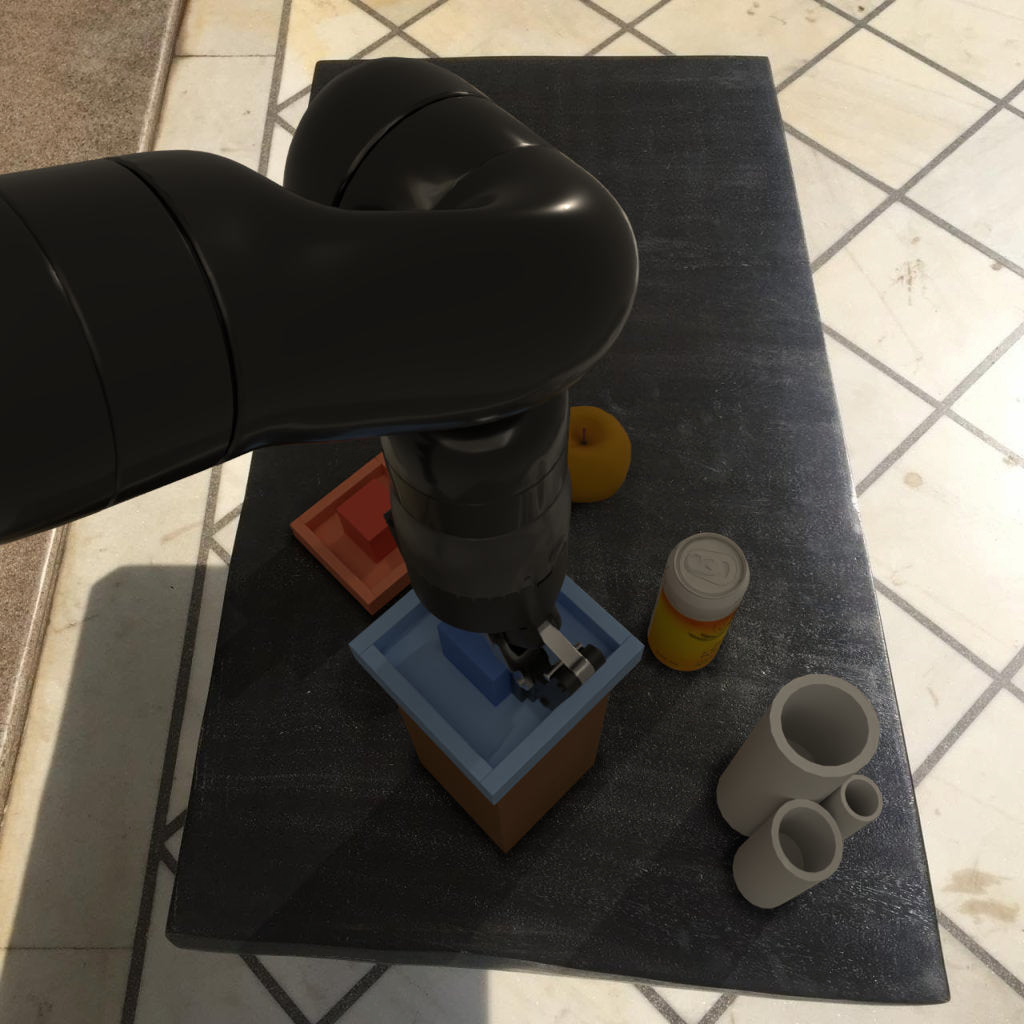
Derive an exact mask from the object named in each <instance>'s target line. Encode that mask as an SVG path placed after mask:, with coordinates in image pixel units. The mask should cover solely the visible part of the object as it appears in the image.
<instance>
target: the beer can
mask: <svg viewBox="0 0 1024 1024" xmlns="http://www.w3.org/2000/svg"><path fill="white" fill-rule="evenodd" d="M750 571H751V570H750V566H749V563H748V561H747V559H746V556H745V554H744V552H743V551H742V549H741V548H740V546H739V545H738V544H737V543H736V542H734V541H733V540H732V539H730V538H729V537H727V536H726V535H723V534H719V533H716V532H700V533H696V534H693V535H690V536H689V537H686V538H685V539H682V540H681V541H679V542H678V543H677V544H676V545H675V546H674V547H673V548H672V550H671V551H670V553H669V554H668V558H667V560H666V564H665V567H664V571H663V574H662V578H661V582H660V585H659V589H658V592H657V596H656V599H655V603H654V607H653V610H652V614H651V617H650V621H649V624H648V628H647V639H648V640H647V641H648V645H649V648H650V650H651V652H652V654H653V655H654V657H655V658H656V659H657V660H658V661H659V662H660V663H662V664H664V665H665V666H666V667H668V668H671V669H672V670H676V671H680V672H692V671H696V670H699V669H702V668H704V667H706V666H707V665H709V664H710V663H711V662H712V661H713V660H714V658H715V657H716V655H717V653H718V651H719V650H720V648H721V645H722V643H723V641H724V638H725V636H726V634H727V633H728V630H729V628H730V626H731V623H732V621H733V620H734V617H735V616H736V613H737V611H738V609H739V607H740V605H741V603H742V600H743V598H744V596H745V594H746V592H747V590H748V587H749V585H750V580H751V574H750V573H751V572H750Z"/></svg>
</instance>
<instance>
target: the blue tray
mask: <svg viewBox="0 0 1024 1024" xmlns="http://www.w3.org/2000/svg"><path fill="white" fill-rule="evenodd" d="M555 605H556V607H557V610H558V612H559V614H560V616H561V620H562V625H561V628H560V630H559V632H560V633H561V634H562V635H563V636H564V637H565V638H566V639H567V640H568V641H569V642H570V643H571V644H572V645H574V644H575V643H576V642H580V643H581V644H582V645H583V646H584V647H586V646H587V645H588V644H592V645H593V646H595V647H597V648H598V649H599V650H600V651H601V652H602V654H603V656H604V657H605V659H606V663H605V664H604V665H602V666H601V667H600V668H599V669H598V670H597V671H596V672H595V673H594V674H593V675H592V676H591V677H590V678H589V679H588V680H587V681H586V682H585V683H584V684H583V685H582V686H581V687H580V688H579V689H578V690H577V691H576V692H575V693H574V694H573V695H572V696H571V697H569V698H568V699H567V700H566V701H564V702H563V703H562V704H560V705H559V706H558V707H557V708H555V709H554V710H553V711H551V710H549V709H548V708H547V707H546V708H545V707H544V706H543V705H542V704H541V703H540V702H539V699H537V700H536V701H535V702H531V701H530V700H529V699H528V698H527V699H526V700H525V701H524V702H520V701H519V700H518V699H517V698H516V697H515V696H514V695H513V694H512V693H511V694H510V695H508V696H507V697H506V698H505V699H504V700H503V701H502V702H501V703H500V704H499V705H498V706H497V707H495V706H494V705H493V704H492V703H491V702H490V701H489V700H488V699H487V698H486V697H485V696H484V695H483V694H482V693H481V692H480V691H479V690H478V689H477V688H476V687H475V686H474V685H473V684H472V683H471V682H470V681H469V680H468V679H467V678H466V677H465V676H464V675H463V674H462V673H461V672H460V671H459V670H458V669H457V668H456V667H455V666H454V665H453V664H452V663H451V662H450V661H449V660H448V659H447V658H446V657H445V656H444V655H443V651H442V647H441V642H440V638H439V634H438V630H437V625H438V624H439V623H440V622H442V621H441V620H439V619H438V618H437V617H435V616H434V615H433V614H432V613H430V612H429V611H428V610H427V609H426V608H425V606H424V605H423V604H422V603H421V601H420V600H419V599H418V597H417V595H416V594H415V592H414V590H413V588H412V589H411V590H409V591H408V592H407V593H405V595H403V597H401V598H400V599H399V600H397V601H396V602H395V603H394V604H393V605H392V606H391V607H390V608H388V609H387V610H386V611H385V612H384V613H383V614H381V615H380V616H379V617H378V618H377V619H376V620H374V621H373V622H372V623H371V624H369V626H367V627H366V628H365V629H364V630H363V631H361V632H360V633H359V634H358V635H357V636H356V637H354V638H353V639H352V640H351V641H350V642H349V643H348V647H349V649H350V651H351V653H352V655H353V658H354V659H355V660H356V661H357V663H358V664H360V665H361V667H362V668H363V669H364V670H365V671H366V672H367V673H368V674H369V675H370V676H371V677H372V678H373V679H374V680H375V681H376V683H377V684H378V685H379V686H380V687H381V688H382V689H383V690H384V691H385V692H386V693H387V694H388V695H389V696H390V697H391V698H392V699H393V701H394V702H395V703H396V705H397V707H398V710H399V712H400V715H401V717H402V719H403V722H404V725H405V727H406V730H407V733H408V735H409V736H410V739H411V742H412V744H413V747H414V749H415V752H416V755H417V757H418V759H419V762H420V764H421V765H423V767H424V768H425V769H426V770H427V771H428V772H429V773H430V774H431V775H432V776H433V778H434V779H435V780H436V781H437V782H438V783H439V784H440V785H441V787H443V788H444V789H445V790H446V791H447V793H448V794H449V795H450V796H451V797H452V798H453V799H454V800H455V801H456V802H457V803H458V804H459V805H460V807H461V808H462V809H463V810H464V811H465V812H466V813H467V814H468V815H469V816H470V817H471V818H472V820H474V822H475V823H476V824H477V825H478V826H479V827H480V828H481V829H482V831H484V832H485V834H486V835H488V837H489V838H490V839H491V840H492V841H493V842H494V844H496V845H497V846H498V848H500V850H501V851H502V852H503V853H504V854H507V853H508V852H509V851H510V850H511V849H512V848H513V847H514V846H515V845H516V844H517V843H518V842H519V841H520V840H521V839H522V838H523V837H524V836H525V835H526V834H527V833H528V832H529V831H530V830H531V829H532V828H533V827H534V826H535V825H536V824H537V823H538V822H539V821H540V820H541V819H542V818H543V817H544V815H546V814H547V813H548V812H549V810H551V808H552V807H554V805H556V803H557V802H559V801H560V800H561V798H562V797H563V796H564V795H565V794H566V793H567V792H568V791H570V789H571V788H572V787H573V786H574V785H575V784H576V783H577V782H578V781H579V780H580V779H581V778H582V777H583V776H584V775H585V774H586V773H587V772H588V771H589V770H590V769H591V768H592V767H593V766H594V765H595V763H596V758H597V753H598V749H599V744H600V739H601V734H602V729H603V725H604V720H605V716H606V713H607V712H606V711H607V706H608V701H609V696H610V693H611V691H612V690H613V689H614V688H615V686H617V685H618V684H619V683H620V682H621V681H622V680H623V679H624V677H626V676H627V675H628V674H629V673H630V672H631V671H632V670H633V669H634V668H635V667H636V666H637V665H638V664H639V663H640V662H641V660H642V656H643V653H644V649H645V645H644V644H643V643H642V642H641V641H640V640H639V639H638V638H637V637H636V636H634V635H633V634H632V633H631V632H630V630H628V629H627V628H626V627H624V626H623V625H622V624H621V623H620V622H619V621H618V620H617V619H616V618H615V617H613V616H612V615H611V614H610V613H609V612H608V611H607V610H605V608H603V607H602V606H601V605H600V603H598V602H596V600H595V599H594V598H593V597H591V596H590V595H589V594H588V593H586V591H584V590H583V589H582V588H581V587H580V586H579V585H578V584H577V583H576V582H575V581H574V580H572V579H571V578H570V577H569V576H568V575H567V574H566V575H565V579H564V582H563V585H562V588H561V590H560V593H559V595H558V597H557V600H556V602H555Z"/></svg>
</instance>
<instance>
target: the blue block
mask: <svg viewBox="0 0 1024 1024" xmlns="http://www.w3.org/2000/svg"><path fill="white" fill-rule="evenodd" d="M437 630H438V634H439V638H440V642H441V647H442V651H443V655H444V656H445V657H446V658H447V659H448V660H449V661H450V662H451V663H452V664H453V665H454V666H455V667H456V668H457V669H458V670H459V671H460V672H461V673H462V674H463V675H464V676H465V677H466V678H467V679H468V680H469V681H470V682H471V683H472V684H473V685H474V686H475V687H476V688H477V689H478V690H479V691H480V692H481V693H482V694H483V695H484V696H485V697H486V698H487V699H488V700H489V701H490V702H491V703H492V704H493V705H494V706H495V707H497V706H498V705H499V704H500V703H501V702H502V701H503V700H504V699H505V698H506V697H507V696H508V695H510V694H511V693H512V678H511V674H512V672H510V671H509V670H508V669H506V668H505V667H504V666H503V665H501V664H500V663H499V662H498V661H496V660H495V658H494V656H493V654H492V652H491V650H490V648H489V646H488V644H487V642H486V640H485V638H484V637H482V636H481V635H480V634H479V633H474V632H468V631H464V630H461V629H458V628H455V627H452V626H450V625H448V624H446V623H444V622H443V621H442V622H440V623H439V624H438V625H437Z"/></svg>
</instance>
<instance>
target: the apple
mask: <svg viewBox="0 0 1024 1024" xmlns="http://www.w3.org/2000/svg"><path fill="white" fill-rule="evenodd" d="M631 461H632V442H631V440H630V438H629V435H628V433H627V432H626V430H625V428H624V426H623V425H622V424H621V423H620V421H618V419H617V418H616V417H615V416H614V415H612V414H611V413H609V412H607V411H605V410H603V409H602V408H600V407H597V406H589V405H578V406H577V405H576V406H570V429H569V442H568V466H569V471H570V476H571V486H572V501H571V503H577V504H583V503H584V504H591V503H596V502H601V501H604V500H608V499H609V498H611V497H612V496H614V495H615V494H616V493H617V492H618V491H619V489H620V488H621V487H622V485H623V483H624V482H625V481H626V478H627V474H628V471H629V468H630V466H631V465H630V464H631Z"/></svg>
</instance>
